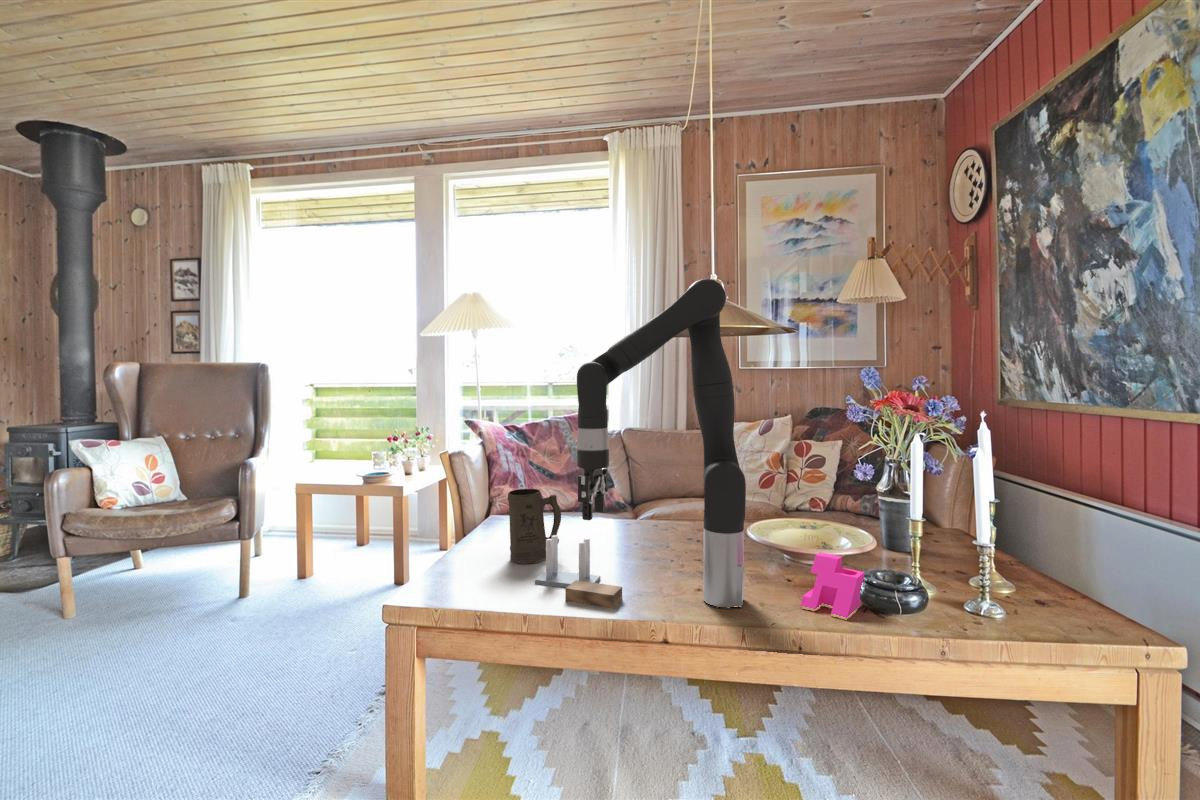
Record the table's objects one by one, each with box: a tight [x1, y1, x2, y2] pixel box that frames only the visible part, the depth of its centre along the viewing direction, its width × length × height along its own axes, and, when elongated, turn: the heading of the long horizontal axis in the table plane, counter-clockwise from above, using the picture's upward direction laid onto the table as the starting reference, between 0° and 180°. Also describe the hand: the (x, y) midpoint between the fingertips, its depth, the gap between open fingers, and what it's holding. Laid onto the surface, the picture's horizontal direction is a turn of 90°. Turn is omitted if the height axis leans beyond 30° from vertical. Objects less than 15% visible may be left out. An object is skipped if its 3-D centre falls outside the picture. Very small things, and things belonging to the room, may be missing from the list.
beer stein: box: [506, 488, 562, 564], centre depth 167 cm, size 15×11×20 cm
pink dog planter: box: [800, 552, 865, 618], centre depth 131 cm, size 12×10×10 cm
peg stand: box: [534, 534, 601, 588], centre depth 148 cm, size 15×8×11 cm, turn 72°
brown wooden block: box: [564, 580, 623, 610], centre depth 135 cm, size 12×6×4 cm, turn 68°
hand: (593, 515), depth 135 cm, fingers open, 8 cm apart
